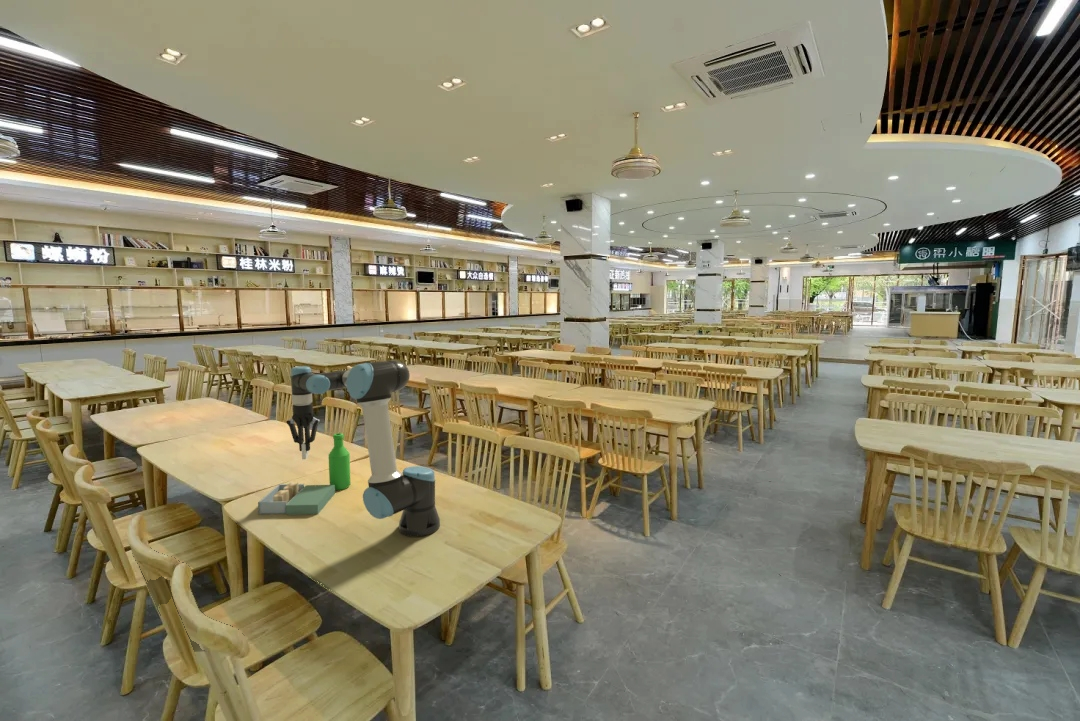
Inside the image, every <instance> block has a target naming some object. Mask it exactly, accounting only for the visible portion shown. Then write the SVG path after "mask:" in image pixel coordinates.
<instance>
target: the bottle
mask: <svg viewBox="0 0 1080 721" xmlns="http://www.w3.org/2000/svg"><path fill="white" fill-rule="evenodd" d="M344 438H345V436H344V433H340V432H339V433H334V434H333V437H332V439H333V448H332V449H331V450H330V452H329V453H328V474H329V477H328V479H329V485H335V491H341V490H345V489H347V488H349V487H350V486H351V465H350V464H351V462H350V460H351V459H350V457H351V456H350V451H349V450H348V449H347V448H346V447H345V445H344Z"/></svg>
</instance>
